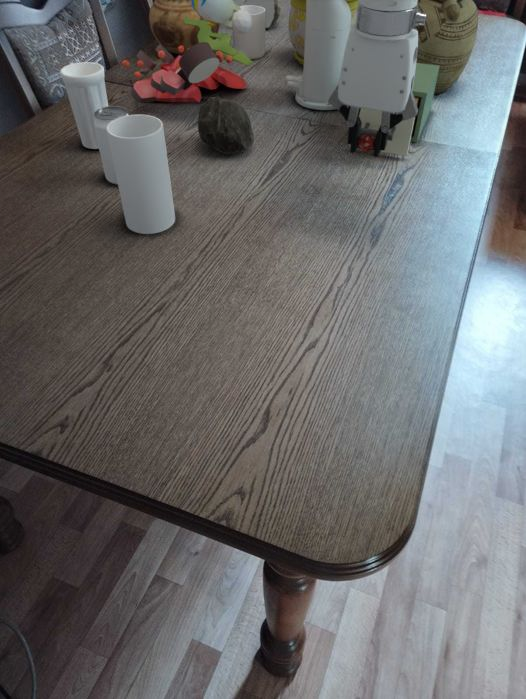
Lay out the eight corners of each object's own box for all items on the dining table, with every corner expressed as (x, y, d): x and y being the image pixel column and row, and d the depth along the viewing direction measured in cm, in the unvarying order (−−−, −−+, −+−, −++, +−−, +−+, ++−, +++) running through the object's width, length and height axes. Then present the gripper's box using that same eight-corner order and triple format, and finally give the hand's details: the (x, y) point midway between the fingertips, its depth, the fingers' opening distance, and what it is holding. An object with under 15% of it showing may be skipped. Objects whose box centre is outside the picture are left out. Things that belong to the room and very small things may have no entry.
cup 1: (70, 149, 110) (50, 74, 100) (92, 132, 116) (75, 59, 105) (105, 155, 108) (88, 79, 98) (126, 138, 114) (112, 64, 103)
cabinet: (416, 142, 112) (427, 93, 105) (355, 132, 115) (361, 83, 108) (429, 112, 122) (439, 65, 115) (373, 104, 126) (379, 58, 119)
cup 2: (153, 239, 88) (137, 143, 77) (115, 224, 91) (94, 129, 80) (185, 216, 93) (174, 122, 82) (147, 202, 96) (132, 110, 85)
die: (371, 158, 84) (374, 139, 82) (353, 153, 85) (355, 134, 83) (378, 150, 86) (381, 131, 84) (360, 145, 87) (363, 127, 85)
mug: (267, 45, 154) (267, 1, 146) (264, 60, 146) (264, 14, 138) (236, 45, 155) (235, 1, 147) (232, 59, 146) (230, 14, 138)
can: (133, 187, 100) (121, 121, 91) (100, 183, 101) (84, 118, 92) (146, 170, 104) (135, 106, 96) (113, 167, 105) (100, 103, 96)
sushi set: (185, 138, 116) (89, 75, 116) (228, 139, 143) (150, 88, 143) (251, -1, 104) (145, -71, 104) (284, 29, 131) (200, -26, 131)
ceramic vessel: (376, 68, 142) (397, -78, 120) (460, 74, 139) (497, -75, 117) (371, 96, 129) (393, -61, 107) (464, 104, 126) (506, -57, 104)
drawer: (402, 166, 103) (410, 124, 98) (342, 155, 106) (346, 114, 100) (420, 125, 115) (428, 86, 110) (366, 117, 118) (371, 79, 113)
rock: (248, 159, 105) (241, 103, 99) (194, 160, 108) (184, 106, 102) (262, 141, 113) (256, 89, 107) (210, 143, 116) (202, 92, 110)
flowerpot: (369, 63, 144) (378, -10, 132) (315, 78, 137) (320, 2, 125) (326, 45, 154) (331, -24, 143) (273, 57, 147) (274, -14, 136)
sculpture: (254, 31, 180) (289, 17, 176) (246, 38, 165) (283, 23, 162) (243, -7, 174) (278, -22, 170) (232, -3, 159) (270, -20, 156)
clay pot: (212, 53, 141) (177, -35, 129) (156, 74, 150) (118, -6, 138) (240, 31, 153) (209, -52, 141) (186, 51, 162) (154, -25, 151)
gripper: (452, 17, 72) (422, 149, 86) (333, 4, 77) (322, 132, 90) (443, 36, 68) (413, 172, 81) (316, 20, 72) (308, 152, 85)
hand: (365, 150), depth 85 cm, fingers closed on die, 3 cm apart
